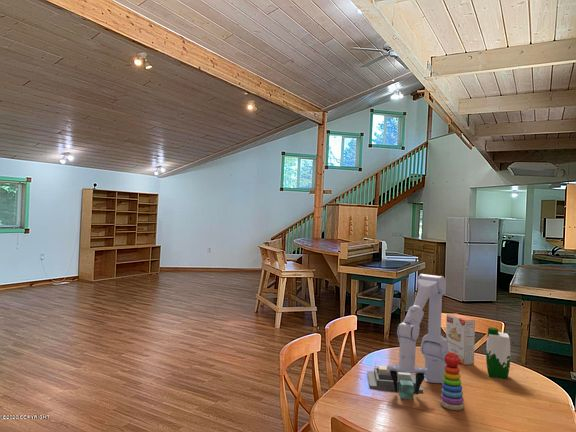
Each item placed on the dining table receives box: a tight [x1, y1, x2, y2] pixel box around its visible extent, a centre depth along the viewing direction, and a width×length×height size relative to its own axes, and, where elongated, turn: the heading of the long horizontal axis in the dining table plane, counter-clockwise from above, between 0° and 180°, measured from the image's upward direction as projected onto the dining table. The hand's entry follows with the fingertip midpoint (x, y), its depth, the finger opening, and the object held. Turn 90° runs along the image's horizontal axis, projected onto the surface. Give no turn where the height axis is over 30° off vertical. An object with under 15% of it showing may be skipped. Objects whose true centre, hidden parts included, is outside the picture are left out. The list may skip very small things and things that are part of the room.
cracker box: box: [445, 313, 476, 366], centre depth 198 cm, size 14×6×21 cm, turn 14°
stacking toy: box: [439, 352, 465, 411], centre depth 147 cm, size 8×8×19 cm
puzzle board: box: [366, 364, 424, 394], centre depth 167 cm, size 20×16×6 cm
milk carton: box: [485, 327, 511, 381], centre depth 179 cm, size 9×9×20 cm
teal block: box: [398, 380, 415, 400], centre depth 154 cm, size 4×4×5 cm
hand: (406, 392), depth 154 cm, fingers open, 7 cm apart
